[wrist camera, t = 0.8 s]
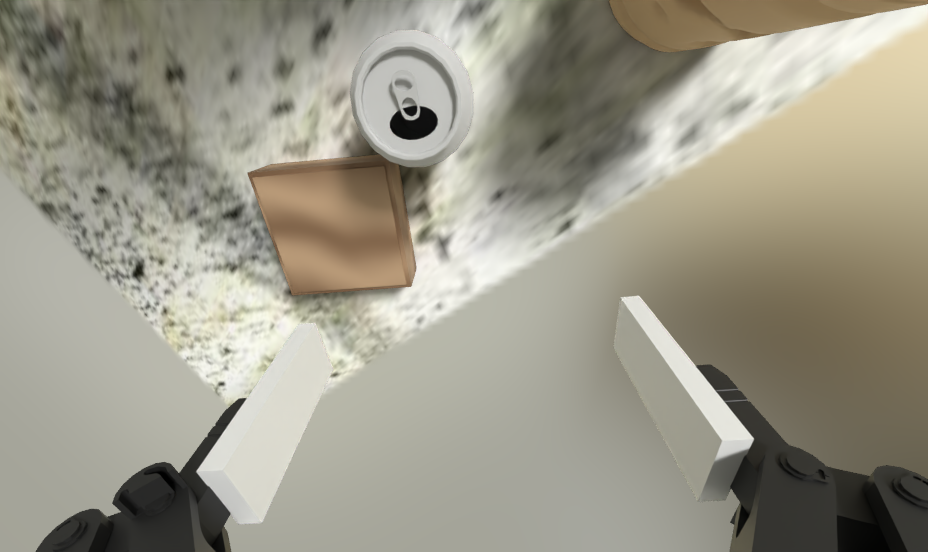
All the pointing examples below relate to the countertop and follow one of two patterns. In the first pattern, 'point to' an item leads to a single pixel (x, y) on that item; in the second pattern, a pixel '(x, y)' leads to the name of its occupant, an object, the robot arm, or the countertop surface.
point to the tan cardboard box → (337, 223)
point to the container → (734, 18)
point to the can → (411, 98)
